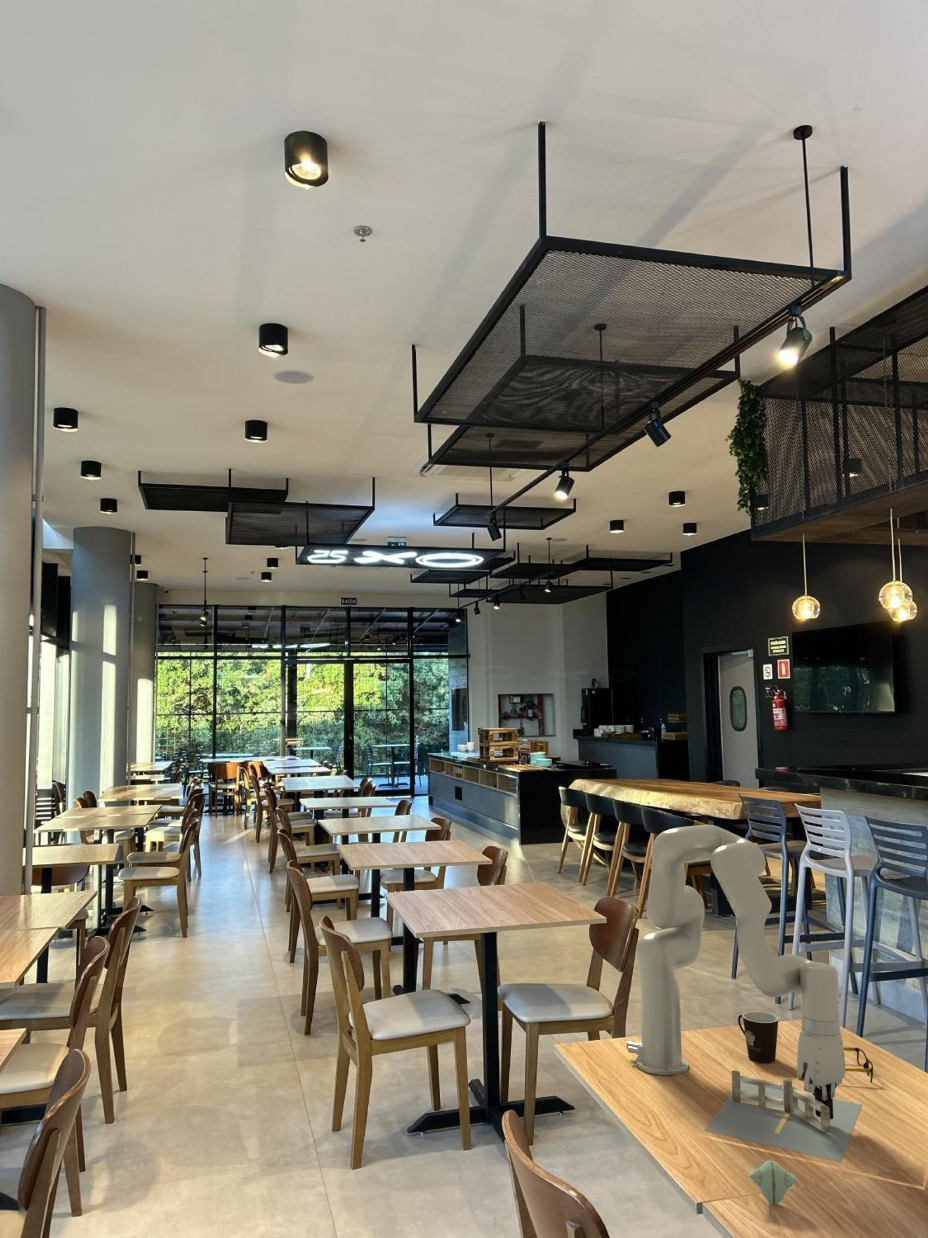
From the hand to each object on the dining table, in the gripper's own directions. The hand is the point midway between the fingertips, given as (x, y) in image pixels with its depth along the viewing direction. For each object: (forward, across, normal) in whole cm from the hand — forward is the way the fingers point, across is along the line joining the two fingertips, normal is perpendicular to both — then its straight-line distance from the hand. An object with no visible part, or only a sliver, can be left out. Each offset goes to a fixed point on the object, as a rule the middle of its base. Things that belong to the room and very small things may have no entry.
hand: (824, 1117), depth 185 cm
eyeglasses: (+2, -28, -18) cm, 34 cm away
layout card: (+2, +4, -6) cm, 8 cm away
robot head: (+2, +34, +16) cm, 37 cm away
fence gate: (+1, +3, -1) cm, 3 cm away
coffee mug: (+2, -19, -34) cm, 39 cm away
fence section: (+1, +4, -13) cm, 13 cm away
